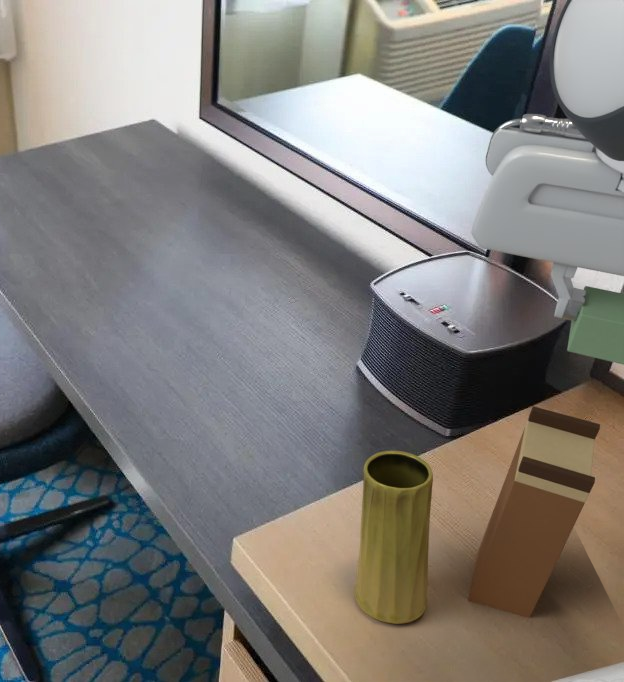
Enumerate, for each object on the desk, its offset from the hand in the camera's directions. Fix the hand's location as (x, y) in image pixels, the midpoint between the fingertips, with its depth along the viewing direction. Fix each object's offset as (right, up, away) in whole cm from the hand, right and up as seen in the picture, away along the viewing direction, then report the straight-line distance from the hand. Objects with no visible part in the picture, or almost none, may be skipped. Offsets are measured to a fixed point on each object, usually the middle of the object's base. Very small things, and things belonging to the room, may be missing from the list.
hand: (609, 324), depth 54 cm
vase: (-10, -24, +15) cm, 30 cm away
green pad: (0, -1, +1) cm, 2 cm away
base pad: (0, -23, +16) cm, 28 cm away
